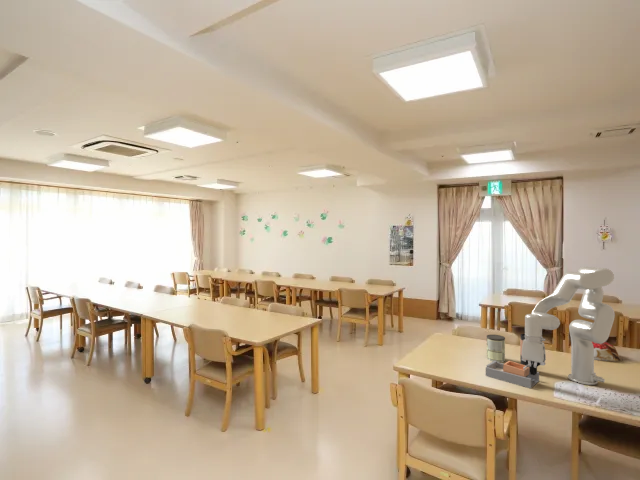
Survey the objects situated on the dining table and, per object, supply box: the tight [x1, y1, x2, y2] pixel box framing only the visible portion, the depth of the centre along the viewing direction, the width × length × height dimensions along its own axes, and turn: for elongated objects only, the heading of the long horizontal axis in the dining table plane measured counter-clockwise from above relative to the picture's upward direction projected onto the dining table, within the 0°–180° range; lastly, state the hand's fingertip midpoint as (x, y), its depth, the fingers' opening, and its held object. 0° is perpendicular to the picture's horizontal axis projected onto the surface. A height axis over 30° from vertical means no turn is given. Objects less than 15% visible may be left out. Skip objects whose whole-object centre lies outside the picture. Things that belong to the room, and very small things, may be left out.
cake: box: [592, 341, 624, 362], centre depth 224 cm, size 23×24×10 cm
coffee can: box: [486, 334, 506, 363], centre depth 218 cm, size 10×10×14 cm
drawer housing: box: [485, 361, 540, 389], centre depth 189 cm, size 22×13×6 cm, turn 42°
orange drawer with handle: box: [503, 360, 530, 378], centre depth 186 cm, size 10×8×8 cm
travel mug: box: [519, 333, 534, 370], centre depth 200 cm, size 8×8×20 cm
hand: (533, 374), depth 181 cm, fingers closed
